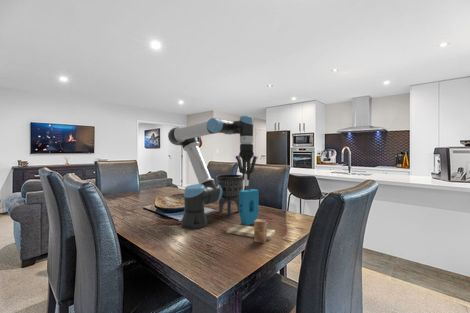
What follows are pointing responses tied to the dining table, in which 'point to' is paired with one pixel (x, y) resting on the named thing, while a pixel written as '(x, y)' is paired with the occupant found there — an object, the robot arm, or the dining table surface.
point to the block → (248, 206)
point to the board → (247, 231)
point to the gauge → (260, 230)
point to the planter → (229, 190)
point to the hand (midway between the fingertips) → (246, 185)
